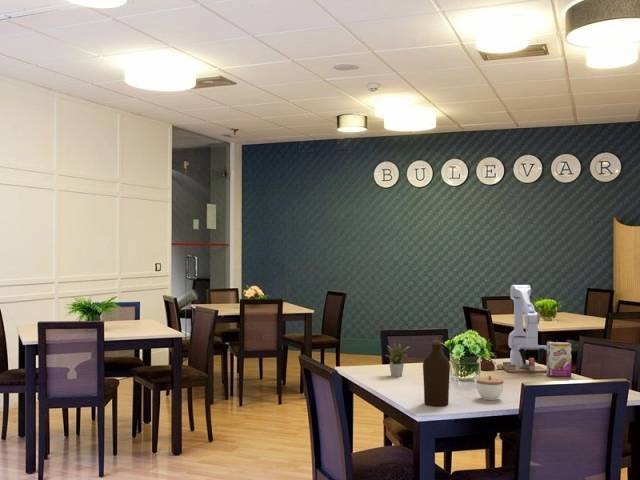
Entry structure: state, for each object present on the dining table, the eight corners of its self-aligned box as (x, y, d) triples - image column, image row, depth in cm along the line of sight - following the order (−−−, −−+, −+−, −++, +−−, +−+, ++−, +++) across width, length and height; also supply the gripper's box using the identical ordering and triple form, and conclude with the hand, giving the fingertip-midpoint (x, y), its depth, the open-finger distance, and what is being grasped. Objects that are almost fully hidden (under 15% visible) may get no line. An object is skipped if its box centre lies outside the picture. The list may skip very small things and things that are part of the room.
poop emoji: (476, 368, 372) (476, 350, 372) (492, 368, 372) (492, 350, 372) (480, 371, 362) (480, 352, 362) (497, 371, 362) (497, 353, 362)
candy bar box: (548, 376, 346) (548, 343, 346) (546, 374, 351) (546, 341, 351) (572, 377, 345) (572, 343, 345) (569, 375, 350) (569, 342, 350)
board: (500, 368, 371) (500, 361, 371) (539, 368, 371) (539, 361, 371) (508, 372, 356) (508, 365, 356) (549, 373, 356) (549, 366, 356)
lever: (516, 365, 370) (516, 354, 371) (525, 365, 371) (525, 354, 371) (526, 370, 354) (526, 358, 354) (535, 370, 354) (535, 358, 354)
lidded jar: (473, 396, 295) (473, 373, 295) (498, 396, 296) (498, 373, 296) (480, 401, 284) (481, 378, 284) (507, 401, 285) (507, 378, 285)
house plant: (414, 378, 336) (414, 344, 337) (385, 378, 336) (385, 344, 337) (410, 374, 351) (410, 341, 351) (382, 373, 350) (382, 340, 351)
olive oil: (442, 408, 271) (442, 342, 272) (417, 404, 277) (418, 340, 278) (454, 403, 280) (454, 340, 280) (430, 400, 286) (430, 338, 287)
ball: (494, 366, 368) (497, 362, 369) (498, 370, 368) (501, 366, 369) (497, 366, 365) (500, 362, 366) (501, 370, 365) (504, 366, 367)
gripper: (519, 337, 352) (519, 365, 351) (548, 337, 352) (548, 365, 352) (515, 336, 359) (515, 362, 359) (544, 336, 359) (544, 363, 359)
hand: (531, 363), depth 356 cm, fingers open, 7 cm apart
